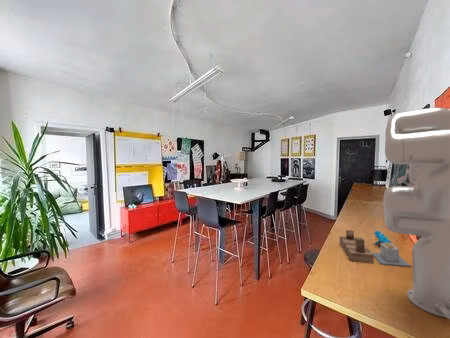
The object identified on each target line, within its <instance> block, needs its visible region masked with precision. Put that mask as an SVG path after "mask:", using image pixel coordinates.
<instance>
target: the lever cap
mask: <svg viewBox="0 0 450 338" xmlns="http://www.w3.org/2000/svg"><path fill="white" fill-rule="evenodd" d="M379 245H380V253H381V256H382V257H383V258H384V259H385V260H386V261H390V262H399V256H400V249H399V248H398V247H397V246H395V244H393V243H391V244H390V243H388V242H385V243H383V242H381V243H379Z"/></svg>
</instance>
